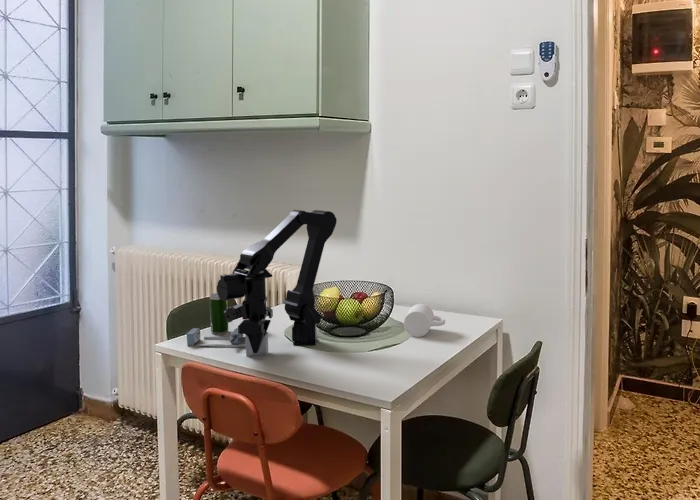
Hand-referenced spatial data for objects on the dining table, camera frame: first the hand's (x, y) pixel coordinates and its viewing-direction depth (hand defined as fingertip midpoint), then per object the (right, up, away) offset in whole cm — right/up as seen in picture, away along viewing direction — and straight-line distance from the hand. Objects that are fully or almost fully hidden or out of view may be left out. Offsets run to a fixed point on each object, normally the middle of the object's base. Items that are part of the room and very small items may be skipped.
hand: (257, 350), depth 179 cm
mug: (+49, +2, +19) cm, 52 cm away
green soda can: (-15, +2, +22) cm, 27 cm away
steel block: (0, -1, 0) cm, 1 cm away
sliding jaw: (-8, 0, +9) cm, 12 cm away
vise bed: (-13, 0, +11) cm, 18 cm away
